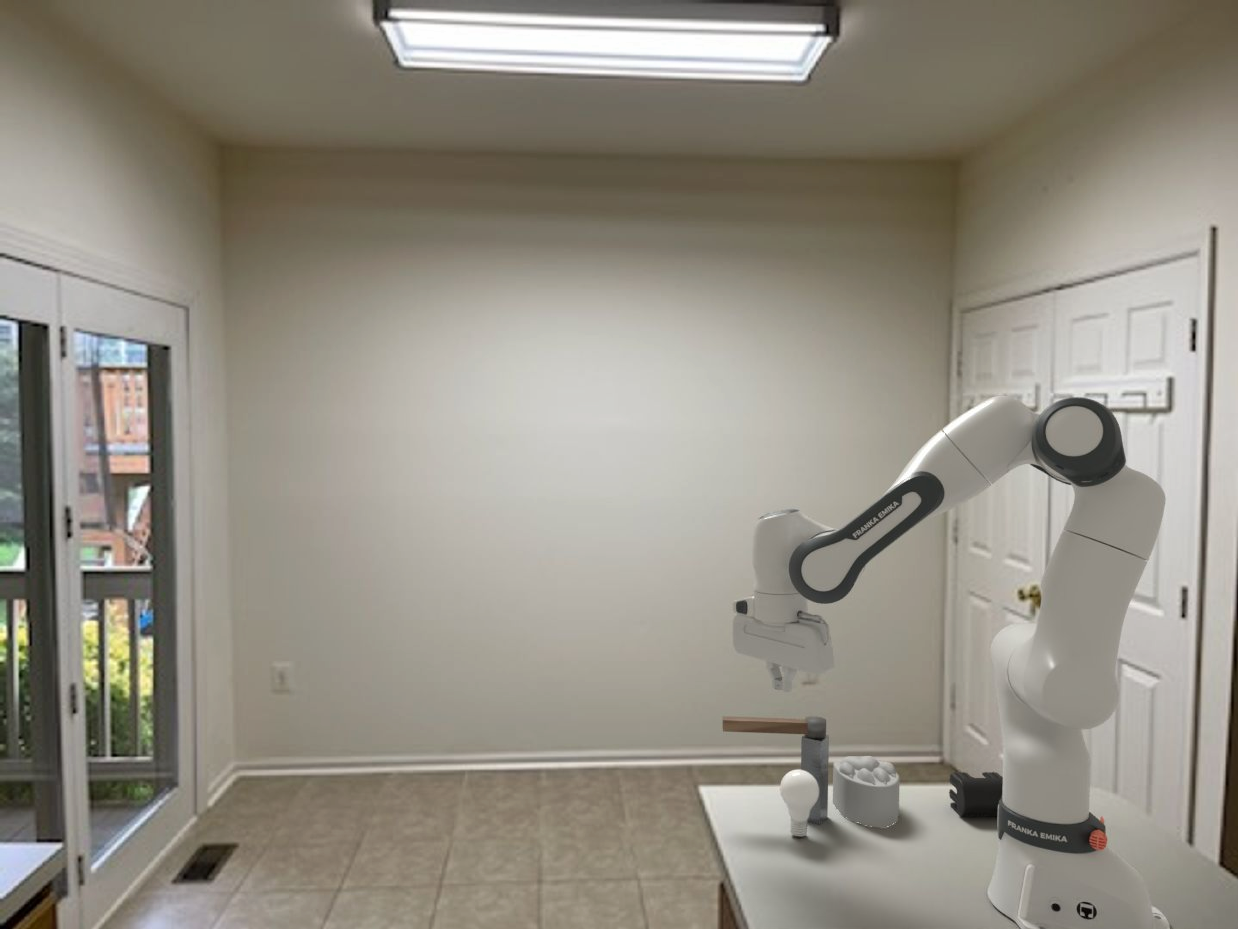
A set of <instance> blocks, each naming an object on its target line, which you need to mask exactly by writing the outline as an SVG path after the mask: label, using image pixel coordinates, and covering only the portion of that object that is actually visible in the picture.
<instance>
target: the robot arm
mask: <svg viewBox="0 0 1238 929" xmlns="http://www.w3.org/2000/svg"><path fill="white" fill-rule="evenodd" d="M1126 463H1127V459H1126V453H1125V449H1124V442H1123V437H1122V431H1121V427H1120V424H1119V422H1118V420H1117V417H1115V414H1114V413H1113V412H1112V411H1111V410H1110V409H1109V408H1108V407H1107V406H1105V405H1104V404H1102V403H1100V402H1099V401H1097V400H1095V399H1091V398H1087V397H1081V396H1080V397H1079V396H1076V397H1075V396H1074V397H1073V396H1072V397H1067V398H1063V399H1060V400H1057V401H1055V402H1053V403H1051V404H1050V405H1048V406H1047V407H1046V408H1045V409H1044V410H1043V411H1042V412H1041V413H1040V414H1039V413H1036V412H1034V411H1032V410H1031V409H1030V408H1029V406H1027V405H1026V404H1025V403H1024V402H1023V401H1020V400H1019V399H1018V398H1014V397H1012V396H1008V395H1001V394H1000V395H995V396H993V397H990V398H987V400H986V399H985V400H984V401H982V402H981V403H979V404H977V405H975V406H974V407H971V408H970V409H969V410H967V411H965V412H964V413H962V414H961V415H959V416H957V417H956V418H955V419H953V420H952V421H950V422H949V423H948V424H947V425H945V426H944V427H943V428H942V429H940V430H939V431H938V432H937V433H936V434H934V435H933V436H931V438H930V439H929V440H927V442H925V444H923V445H922V447H921V448H920V449H919V450H918V451H917V452H916V453H915V454H914V455H913V457H912V458H911V459H910V460H909V461H908V463H907V464H906V465H905V467H904V468H903V469H902V471H901V473H899V475H898V477H897V478H896V480H895V481H894V482H893V484H892V485H890V487H889V488H888V489H887V491H885V492H884V494H882V495H881V496H880V497H879V498H878V499H877V500H876V501H874V502H873V503H872V504H870V505H869V506H868V507H866V508H865V509H864V510H863V511H862V512H861V513H859V514H858V515H857V516H855V517H854V518H853V519H852V520H850V521H849V522H848V523H846V524H845V525H843V526H842V527H840V528H839V529H837V528H834V527H831V526H828V525H825V524H823V523H821V522H818V521H816V520H814V519H813V518H810V517H809V516H807V515H806V514H805V513H803V512H802V511H801V510H799V509H795V508H791V509H783V510H777V511H776V510H775V511H773V512H767V513H765V514H764V515H762V516H760V517H759V518H758V519H757V520H756V522H755V525H754V528H753V535H752V538H753V539H752V566H753V570H754V574H755V575H754V576H755V577H754V583H753V586H752V587H753V588H752V592H753V593H752V594H753V595H750V596H748V597H744V598H740V599H736V600H734V601H732V611H733V613H735V615H734V617H733V619H732V644H733V647H734V650H735V651H736V653H737V654H740V655H744V656H746V657H749V658H750V657H751V658H755V659H757V660H760V661H761V660H762V661H764V662H766V663H765V664H766V669H767V672H768V674H769V676H770V678H771V688H772V689H774V690H778V691H780V692H784V693H789V692H792V690H793V680H794V679H795V677H796V675H797V673H798V671H800V672H802V673H806V674H807V673H808V674H811V675H814V676H821V675H827V674H828V673H829V674H830V673H831V672H832V670H833V669H834V667H835V661H834V660H835V659H834V658H835V657H834V649H833V642H832V637H831V633H830V626H829V623H827V621H826V620H825V619H823V616H821V615H820V614H812V613H810V612H808V601H810V602H812V603H816V604H821V605H823V604H824V605H828V604H833V603H837V602H839V601H840V600H842V599H844V598H845V597H847V596H848V594H849V593H850V592H851V591H852V589H853V588H854V585H855V584H856V582H857V581H858V580H859V579H860V578H861V576H862V574H863V572H864V571H865V568H866V566H867V565H868V563H870V562H871V561H872V560H873V559H874V558H875V557H876V556H878V555H879V554H880V553H882V552H883V551H884V550H885V549H886V548H888V547H890V545H892V544H893V543H894V542H895V541H897V540H898V539H900V538H901V537H902V536H903V535H905V534H906V533H907V532H909V531H910V530H911V529H913V528H915V527H916V526H918V525H920V524H921V523H924V522H926V521H928V520H930V519H932V518H935V517H936V516H939V515H941V514H944V513H946V512H948V511H951V510H952V509H955V508H957V507H959V506H961V505H963V504H965V503H966V502H968V501H970V500H971V499H973V498H975V497H976V496H978V495H979V494H981V493H982V492H984V491H985V490H988V488H990V486H992V485H993V484H995V483H996V482H997V481H998V480H1000V479H1001V478H1003V477H1004V476H1005V475H1007V474H1008V473H1009V472H1010V471H1013V470H1014V469H1016V468H1018V467H1019V466H1022V465H1024V466H1025V465H1028V464H1029V465H1030V466H1032V467H1033V468H1035V469H1037V470H1039V471H1040V472H1042V473H1044V474H1045V475H1047V476H1049V477H1051V478H1052V479H1053V480H1055V481H1058V482H1060V483H1062V484H1065V485H1069V486H1072V488H1073V491H1074V500H1073V504H1072V508H1071V511H1070V513H1069V516H1068V517H1067V520H1066V522H1065V523H1064V527H1063V529H1062V530H1061V531H1062V532H1061V533H1060V535H1059V538H1058V540H1057V543H1056V544H1055V547H1054V549H1053V552H1052V554H1051V556H1050V558H1049V560H1048V563H1047V565H1046V568H1045V569H1044V572H1043V574H1042V577H1041V580H1040V589H1041V599H1040V606H1039V613H1038V617H1037V622H1036V623H1033V622H1017V623H1011V624H1010V625H1009V624H1008V625H1007V626H1005V627H1003V628H1002V629H1001V630H999V632H997V634H996V635H995V636H994V638H993V639H992V642H991V646H990V652H989V653H990V654H989V655H990V656H989V657H990V661H991V664H992V667H993V668H992V669H993V672H994V681H995V690H996V692H995V693H996V700H997V702H996V703H997V708H998V709H997V710H998V716H999V722H1000V729H1001V738H1002V739H1001V740H1002V777H1003V788H1002V796H1001V799H1000V800H999V805H998V815H997V816H996V818H997V820H996V822H997V823H996V824H997V826H996V827H997V829H996V830H997V833H998V834H997V836H998V839H999V843H998V848H997V850H998V851H997V855H996V861H995V866H994V869H993V873H992V877H991V879H990V883H989V885H988V888H987V894H986V895H987V897H988V899H989V901H990V902H991V904H992V905H993V906H994V907H995V908H996V909H997V910H998V911H1000V912H1001V913H1002V914H1004V915H1005V916H1006V917H1008V918H1010V919H1011V920H1013V921H1014V922H1015V923H1016V925H1017V926H1018V927H1019V928H1020V929H1171V925H1170V923H1169V921H1168V919H1167V917H1166V916H1165V915H1164V913H1163V912H1162V911H1161V910H1159V909H1158V908H1157V907H1155V906H1153V904H1152V900H1151V896H1150V893H1149V892H1150V891H1149V889H1148V886H1147V884H1146V881H1145V879H1144V878H1143V876H1142V875H1141V874H1140V872H1139V871H1137V870H1136V869H1135V868H1134V867H1132V866H1131V865H1130V864H1129V863H1128V862H1126V860H1124V859H1123V858H1122V857H1121V856H1119V855H1118V854H1117V853H1116V851H1114V850H1113V849H1112V848H1111V847H1109V846H1108V844H1107V843H1108V837H1107V832H1106V830H1107V829H1106V825H1105V819H1104V817H1103V816H1100V819H1099V818H1098V817H1096V815H1094V814H1093V813H1092V812H1090V796H1091V795H1090V792H1091V790H1090V789H1091V757H1090V752H1089V750H1088V748H1087V745H1086V742H1085V739H1084V735H1083V730H1091V729H1094V728H1097V727H1098V726H1102V724H1104V723H1105V722H1107V720H1109V719H1110V718H1112V717H1111V716H1113V714H1114V712H1115V710H1116V709H1117V707H1118V703H1119V696H1120V695H1119V694H1120V693H1119V692H1120V691H1119V687H1118V683H1117V682H1118V681H1117V676H1116V675H1117V674H1116V668H1117V661H1118V654H1119V648H1120V641H1121V636H1122V629H1123V625H1124V621H1125V618H1126V614H1127V611H1128V608H1129V606H1130V603H1131V602H1132V599H1133V596H1134V594H1135V592H1136V590H1137V587H1138V585H1139V582H1140V580H1141V577H1142V576H1143V574H1144V571H1145V570H1146V566H1147V564H1148V562H1149V560H1150V556H1151V555H1152V552H1153V550H1154V547H1155V544H1156V542H1157V538H1158V536H1159V533H1160V529H1161V525H1162V521H1163V516H1164V511H1165V506H1166V494H1165V491H1164V489H1163V488H1162V487H1161V486H1162V485H1160V484H1159V483H1158V482H1157V481H1156V480H1154V479H1153V478H1152V477H1151V476H1148V475H1147V474H1145V473H1143V472H1140V471H1138V470H1135V469H1132V468H1130V467H1129V466H1127V465H1126ZM780 667H781V669H780ZM781 670H782V671H781ZM782 672H783V673H784V674H783V675H782Z"/></svg>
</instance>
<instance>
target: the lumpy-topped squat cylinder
mask: <svg viewBox="0 0 1238 929" xmlns="http://www.w3.org/2000/svg"><path fill="white" fill-rule="evenodd" d="M832 772H833V774H832V778H833V779H832V804H833V806H834V805H835V806H834V808H835V807H836V808H835V809H836V810H837V809H838V810H839V812H840V813H841V814H842V815H843V816H845V817H847V818H848V819H850V820H849V821H851V820H852V821H851V822H853V821H854V822H853V823H855V822H859V823H861V824H863V825H862V826H864V825H867V826H872V827H879V828H878V829H881V828H880V827H887V826H890V825H892V824H893V823H895V822H897V823H898V821H897V819H898V820H899V818H898V816H899V817H900V786H901V785H900V782H901V781H900V775H899V773H897V771H896V768H895V766H894V764H892V763H891V762H890V761H882V760H879V759H876V757H873V756H871V755H864V756H856V755H855V756H854V755H853V756H852V755H851V756H850V755H849V756H846V757H843V758H838V759H836V760H834V762H833V770H832ZM839 812H838V813H839ZM840 813H839V814H840ZM841 814H840V815H841ZM842 815H841V816H842ZM843 816H842V817H843ZM845 817H844V818H845ZM848 819H847V820H848ZM867 826H866V827H867ZM872 827H871V828H872Z"/></svg>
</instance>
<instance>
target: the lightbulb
mask: <svg viewBox="0 0 1238 929" xmlns="http://www.w3.org/2000/svg"><path fill="white" fill-rule="evenodd" d="M779 791H780V797H781V798H782V800H783V802H784V804H785V805H786V808H787V810H788V815H789V817H790V833H791V834H792V835H793V836H795V837H797V838H802V837H805V836H807V835H808V821H807V819H808V818H809V814H810V811H811V809H812V807H813V806H814V805H815V803H816V802H817V800H818V797H819V786H818V783H817V781H816V779H815V778H814V777H813V775H811V774H810V773H809V772H807V771H804V770H801V768H800V769H799V768H798V769H792V770H790V771H788V772H787V773H786V774H784V776H783V777H782V779H781V781H780V786H779Z"/></svg>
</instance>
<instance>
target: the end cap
mask: <svg viewBox="0 0 1238 929" xmlns="http://www.w3.org/2000/svg"><path fill="white" fill-rule="evenodd" d="M982 776H983V777H973V776H971V775H970V774H969V773H968V772H965V771H963V772H958V771H956V772H951V773H950V775H949V779H948V781H949V783H950V784H951V785H952V787H954V788H955V790H956V792H955V791H954V790H953V789H949V792H948V794H949V799H951V800H952V801H953V802H950V808H951V809H952V810H953V811H954V812H955V813H956V814H957V815H958V816H960V817H997V815H998V805H999V800H1000V799H1001V796H1002V788H1003V775H1001V774H999V773H998V772H994V771H991V772H990V771H989V772H988V771H985V772H982Z"/></svg>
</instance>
